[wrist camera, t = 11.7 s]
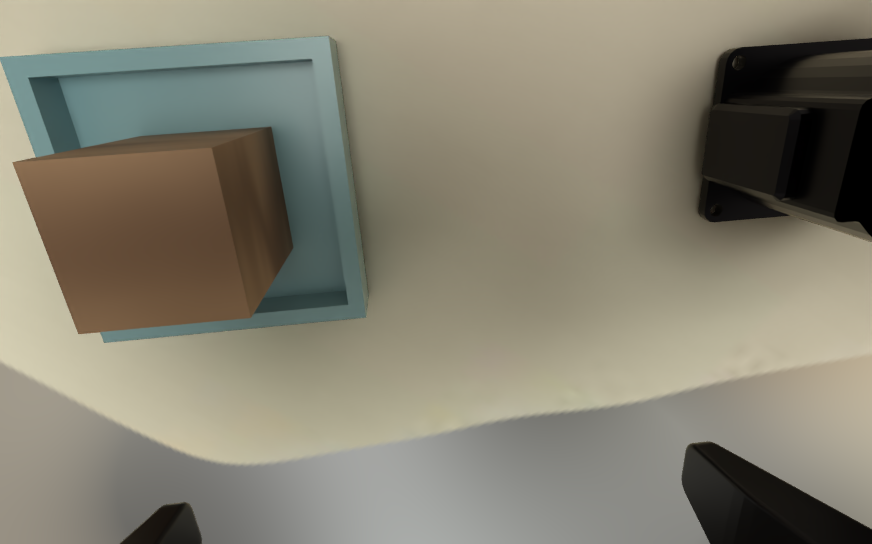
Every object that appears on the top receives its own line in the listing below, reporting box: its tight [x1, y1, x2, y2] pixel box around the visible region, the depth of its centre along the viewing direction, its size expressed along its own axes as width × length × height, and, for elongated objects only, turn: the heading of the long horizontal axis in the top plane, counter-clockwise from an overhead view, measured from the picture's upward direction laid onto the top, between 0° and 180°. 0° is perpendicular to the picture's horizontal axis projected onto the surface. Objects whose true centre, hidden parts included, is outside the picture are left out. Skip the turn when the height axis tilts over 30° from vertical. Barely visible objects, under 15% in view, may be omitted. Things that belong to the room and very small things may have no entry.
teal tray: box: [0, 36, 369, 343], centre depth 17 cm, size 10×10×2 cm
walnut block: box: [12, 127, 293, 334], centre depth 15 cm, size 4×4×6 cm
